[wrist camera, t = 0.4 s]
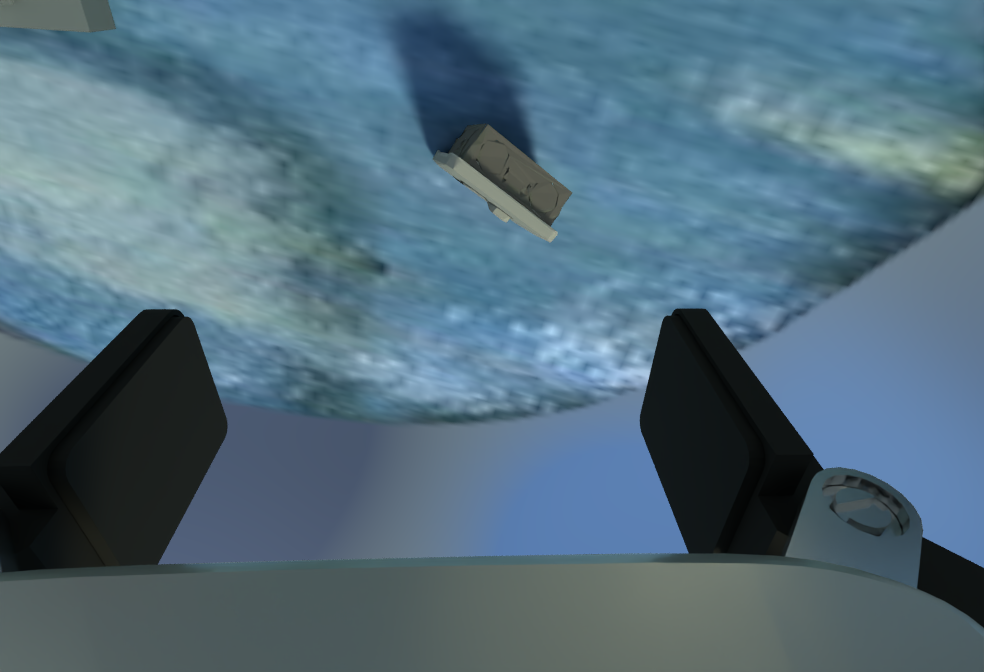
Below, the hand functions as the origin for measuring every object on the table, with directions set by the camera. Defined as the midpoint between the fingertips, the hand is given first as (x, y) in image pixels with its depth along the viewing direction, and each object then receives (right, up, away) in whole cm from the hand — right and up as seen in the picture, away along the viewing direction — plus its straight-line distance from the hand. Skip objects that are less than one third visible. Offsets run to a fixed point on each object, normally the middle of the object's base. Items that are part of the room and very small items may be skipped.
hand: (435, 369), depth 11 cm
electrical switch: (+1, +15, +32) cm, 36 cm away
